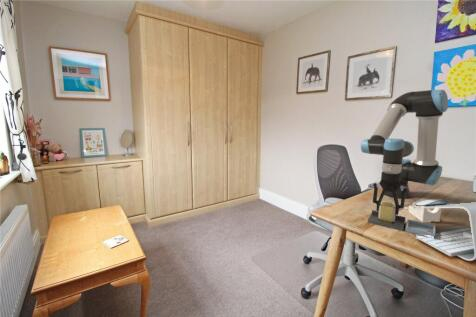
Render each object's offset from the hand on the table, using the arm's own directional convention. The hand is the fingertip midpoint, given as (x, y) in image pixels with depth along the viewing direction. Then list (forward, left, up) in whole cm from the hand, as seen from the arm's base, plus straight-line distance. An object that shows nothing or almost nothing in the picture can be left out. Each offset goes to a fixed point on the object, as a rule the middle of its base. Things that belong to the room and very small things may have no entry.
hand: (386, 219), depth 112 cm
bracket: (-19, +13, -2) cm, 23 cm away
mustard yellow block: (0, 0, -2) cm, 2 cm away
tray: (0, +13, -2) cm, 13 cm away
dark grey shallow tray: (0, 0, -2) cm, 2 cm away
